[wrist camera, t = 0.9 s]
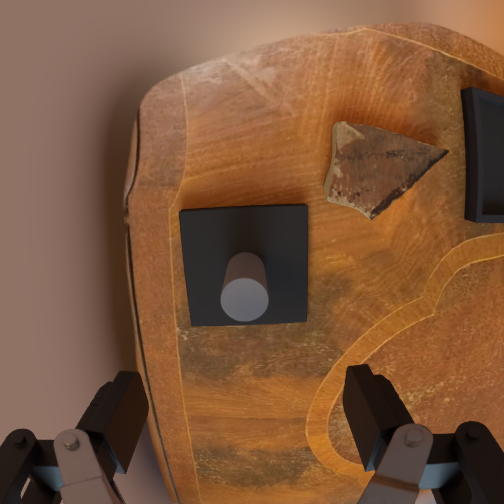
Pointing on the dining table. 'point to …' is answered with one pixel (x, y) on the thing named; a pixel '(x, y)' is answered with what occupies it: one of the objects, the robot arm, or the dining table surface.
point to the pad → (246, 235)
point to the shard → (375, 166)
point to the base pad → (484, 155)
